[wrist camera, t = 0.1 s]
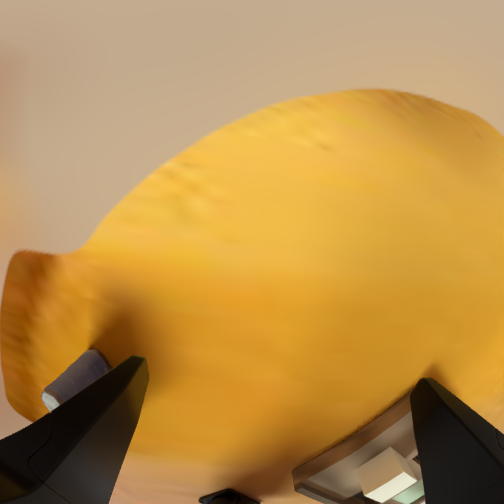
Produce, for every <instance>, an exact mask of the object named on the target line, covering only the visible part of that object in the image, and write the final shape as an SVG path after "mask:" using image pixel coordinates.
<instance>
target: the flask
mask: <svg viewBox="0 0 504 504" xmlns="http://www.w3.org/2000/svg"><path fill="white" fill-rule="evenodd" d="M111 369H112V368H111V367H110V365H109V364H108V361H107V360H106V359H105V357H104V356H103V355H102V354H101V353H100V352H99V350H96V349H92V350H91V349H89V350H87V351H85V352H84V353H83V354H82V355H81V356H80V357H79V358H78V359H77V360H76V361H75V362H74V363H73V364H71V365H70V366H69V367H68V368H67V370H66V371H65V372H64V373H62V374H61V375H60V376H59V377H58V378H57V379H56V380H54V381H53V382H52V383H51V384H50V385H48V386H47V387H45V389H44V391H43V392H42V396H41V398H42V400H43V402H44V404H45V405H46V407H47V408H48V409H49V411H50V412H51V411H52V410H53V409H55V408H56V407H58V406H59V405H61V404H62V403H64V402H65V401H67V400H68V399H70V398H71V397H72V396H74V395H75V394H77V393H78V392H80V391H81V390H83V389H84V388H85V387H87V386H88V385H90V384H91V383H93V382H94V381H96V380H97V379H98V378H100V377H101V376H103V375H104V374H106V373H107V372H109V371H110V370H111Z"/></svg>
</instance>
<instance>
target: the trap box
mask: <svg viewBox="0 0 504 504" xmlns="http://www.w3.org/2000/svg"><path fill="white" fill-rule="evenodd" d="M413 389H414V388H413ZM413 389H412V390H413ZM412 390H411V391H410V392H409V393H407V394H406V395H405V396H404V397H403V398H402V399H400V400H399V401H398V402H397V403H395V404H394V405H393V406H392V407H391V408H389V409H388V410H387V411H385V412H384V413H383V414H382V415H380V416H379V417H378V418H376V419H375V420H374V421H372V422H371V423H370V424H368V425H367V426H365V427H364V428H363V429H361V430H360V431H358V432H357V433H355V434H354V435H352V436H351V437H349V438H348V439H346V440H345V441H343V442H342V443H340V444H338V445H337V446H335V447H334V448H332V449H330V450H329V451H327V452H325V453H324V454H322V455H320V456H319V457H317V458H315V459H313V460H311V461H310V462H308V463H306V464H304V465H302V466H300V467H298V468H296V469H294V470H293V471H292V475H293V482H294V489H295V491H296V492H298V493H300V494H303V495H305V496H307V497H310V498H312V499H314V500H317V501H319V502H322V503H324V504H421V503H422V502H424V501H425V495H424V488H423V481H422V474H421V468H420V462H419V457H418V452H417V447H416V442H415V437H414V430H413V421H412V414H411V406H410V394H411V392H412ZM389 447H392V448H393V449H394V450H395V451H396V452H398V453H399V454H400V455H401V456H403V457H404V458H405V459H406V461H407V463H408V465H409V467H410V468H411V470H412V472H413V474H414V476H415V478H416V479H417V482H415V483H414V484H412V485H411V486H409V487H408V488H406V489H405V490H403V491H401V492H400V493H398V494H397V495H395V496H393V497H392V498H390V499H388V500H386V501H385V502H383V503H381V502H378V501H376V500H373V499H371V498H368V497H366V496H364V494H363V491H362V488H361V485H360V482H359V480H358V477H357V474H356V471H355V469H356V468H358V467H360V466H361V465H363V464H365V463H366V462H368V461H369V460H371V459H373V458H374V457H376V456H377V455H379V454H380V453H382V452H383V451H384V450H386V449H387V448H389Z"/></svg>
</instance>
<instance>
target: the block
mask: <svg viewBox="0 0 504 504" xmlns="http://www.w3.org/2000/svg"><path fill="white" fill-rule="evenodd" d="M355 471H356V474H357V477H358V480H359V482H360V485H361V488H362V491H363V494H364V496H366V497H368V498H371V499H373V500H376V501H378V502H381V503H383V502H385V501H386V500H388V499H390V498H392V497H393V496H395V495H397V494H398V493H400V492H401V491H403V490H405V489H406V488H408V487H409V486H411V485H412V484H414V483H415V482H417V479H416V478H415V476H414V474H413V472H412V470H411V468H410V467H409V465H408V463H407V461H406V459H405V458H404V457H403V456H401V455H400V454H399V453H398V452H396V451H395V450H394V449H393V448H392V447H389V448H387V449H386V450H384V451H383V452H382V453H380V454H379V455H377V456H376V457H374V458H373V459H371V460H369V461H368V462H366V463H365V464H363V465H361V466H360V467H358V468H356V469H355Z"/></svg>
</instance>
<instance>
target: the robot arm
mask: <svg viewBox="0 0 504 504" xmlns="http://www.w3.org/2000/svg"><path fill="white" fill-rule="evenodd" d="M148 381H149V372H148V366H147V360H146V358H145V357H142V356H138V355H131V356H130V357H129V358H127V359H126V360H124V361H123V362H121V363H120V364H119V365H117V366H116V367H114V368H113V369H111V370H110V371H109V372H107V373H106V374H104V375H103V376H101V377H100V378H98V379H97V380H96V381H94V382H93V383H91V384H90V385H88V386H87V387H85V388H84V389H83V390H81V391H80V392H78V393H77V394H75V395H74V396H72V397H71V398H70V399H68V400H67V401H65V402H64V403H62V404H61V405H59V406H58V407H56V408H55V409H53V410H52V411H51V413H47V414H46V415H44V416H43V417H41V418H40V419H38V420H37V421H35V422H34V423H32V424H30V425H29V426H27V427H25V428H23V429H21V430H20V431H18V432H16V433H14V434H12V435H10V436H7V437H5V438H4V439H1V440H0V504H108V503H109V500H110V497H111V495H112V492H113V489H114V486H115V483H116V480H117V477H118V475H119V472H120V469H121V466H122V464H123V461H124V458H125V455H126V453H127V450H128V447H129V445H130V442H131V439H132V437H133V434H134V432H135V429H136V426H137V423H138V420H139V416H140V412H141V408H142V405H143V401H144V397H145V393H146V389H147V385H148ZM410 406H411V414H412V421H413V430H414V437H415V442H416V447H417V452H418V457H419V462H420V468H421V474H422V481H423V488H424V495H425V503H426V504H504V434H503V433H501V432H500V431H499V430H498V429H496V428H495V427H494V426H493V425H491V424H490V423H489V422H488V421H486V420H485V419H484V418H483V417H481V416H480V415H479V414H478V413H476V412H475V411H474V410H472V409H471V408H470V407H469V406H467V405H466V404H465V403H464V402H462V401H461V400H460V399H459V398H457V397H456V396H455V395H453V394H452V393H451V392H450V391H448V390H447V389H446V388H445V387H443V386H442V385H441V384H439V383H438V382H437V381H436V380H434V379H433V378H431V377H426V378H421V379H420V380H419V381H418V383H417V384H416V386H415V387H414V389H413V390H412V392H411V394H410ZM198 502H200V503H201V504H260V503H259V502H256V501H254V500H252V499H250V498H247V497H245V496H243V495H241V494H239V493H237V492H235V491H233V490H231V489H226V490H223V491H221V492H218V493H215V494H212V495H209V496H206V497H203V498H200V499H199V501H198Z"/></svg>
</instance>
